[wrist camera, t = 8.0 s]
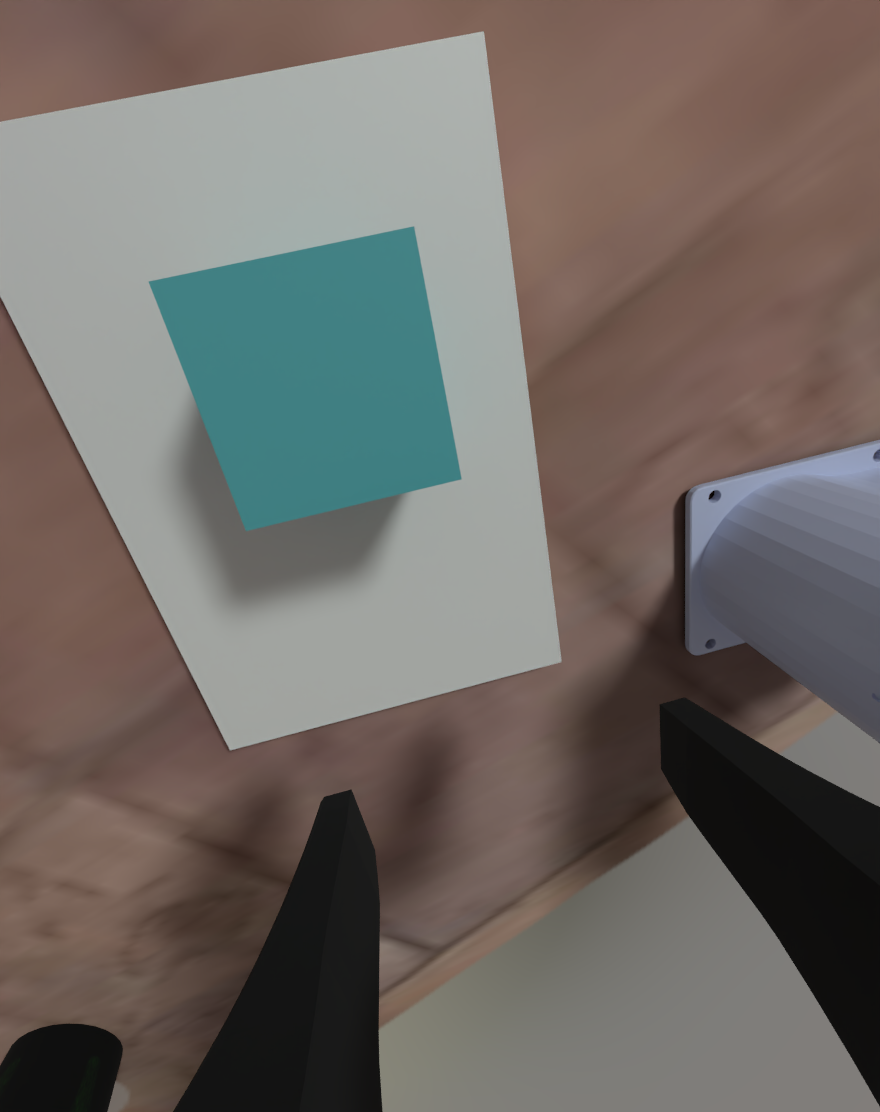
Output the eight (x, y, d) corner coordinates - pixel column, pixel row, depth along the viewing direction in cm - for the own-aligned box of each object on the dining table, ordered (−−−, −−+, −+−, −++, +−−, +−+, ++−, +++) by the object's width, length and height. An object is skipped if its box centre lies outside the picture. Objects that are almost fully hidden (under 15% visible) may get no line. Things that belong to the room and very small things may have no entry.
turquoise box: (394, 269, 14) (414, 226, 9) (430, 439, 16) (461, 478, 11) (223, 306, 14) (148, 280, 9) (281, 474, 16) (245, 530, 11)
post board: (475, 52, 14) (539, -113, 9) (552, 648, 22) (608, 734, 17) (-50, 151, 13) (-299, 30, 8) (235, 733, 21) (198, 848, 16)
